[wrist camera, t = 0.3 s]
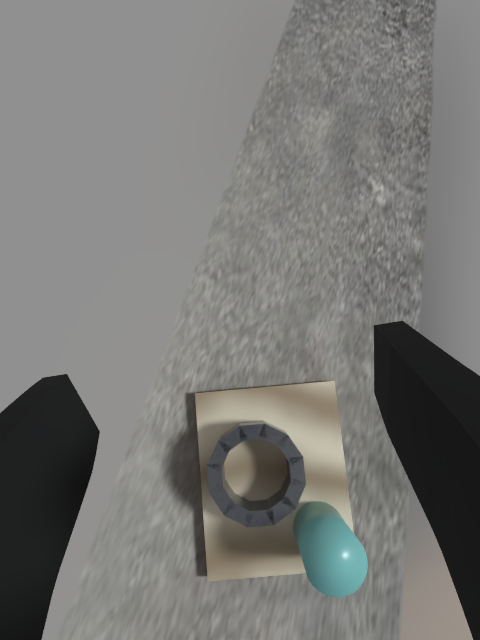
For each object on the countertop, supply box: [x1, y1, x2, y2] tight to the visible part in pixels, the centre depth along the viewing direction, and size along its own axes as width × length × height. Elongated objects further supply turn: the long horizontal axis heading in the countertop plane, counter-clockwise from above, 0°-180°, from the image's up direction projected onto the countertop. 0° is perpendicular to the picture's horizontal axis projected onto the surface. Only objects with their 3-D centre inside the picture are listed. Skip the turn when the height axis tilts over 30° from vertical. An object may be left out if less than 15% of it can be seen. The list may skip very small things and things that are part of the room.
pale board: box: [195, 381, 354, 581], centre depth 36 cm, size 16×13×1 cm
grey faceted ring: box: [207, 421, 306, 528], centre depth 34 cm, size 8×8×3 cm
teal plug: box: [293, 501, 368, 597], centre depth 31 cm, size 4×4×7 cm
